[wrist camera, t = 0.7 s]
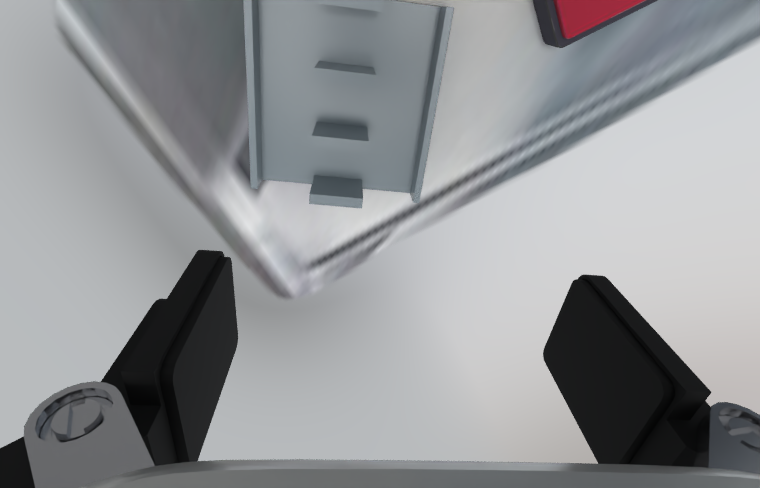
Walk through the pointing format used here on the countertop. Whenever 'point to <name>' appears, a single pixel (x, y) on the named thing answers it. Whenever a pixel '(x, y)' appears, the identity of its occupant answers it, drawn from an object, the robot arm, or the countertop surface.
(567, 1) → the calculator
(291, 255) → the countertop surface
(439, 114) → the countertop surface
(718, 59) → the countertop surface
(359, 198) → the rack
